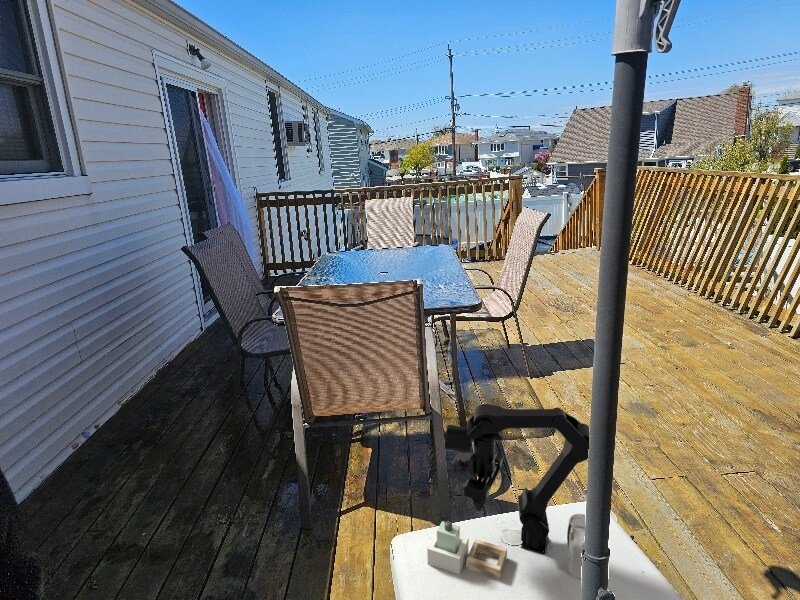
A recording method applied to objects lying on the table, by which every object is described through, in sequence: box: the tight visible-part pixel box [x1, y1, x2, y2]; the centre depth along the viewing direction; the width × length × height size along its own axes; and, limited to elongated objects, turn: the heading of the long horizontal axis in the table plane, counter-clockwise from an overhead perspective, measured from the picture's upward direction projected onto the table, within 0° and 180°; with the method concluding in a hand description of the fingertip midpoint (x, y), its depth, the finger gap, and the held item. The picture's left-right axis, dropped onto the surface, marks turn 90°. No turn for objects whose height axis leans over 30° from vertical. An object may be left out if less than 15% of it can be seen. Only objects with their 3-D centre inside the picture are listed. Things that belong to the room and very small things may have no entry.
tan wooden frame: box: [465, 538, 508, 580], centre depth 134 cm, size 9×8×3 cm
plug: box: [436, 520, 461, 554], centre depth 135 cm, size 5×4×10 cm
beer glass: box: [565, 513, 586, 580], centre depth 129 cm, size 7×7×15 cm
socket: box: [426, 528, 470, 575], centre depth 136 cm, size 9×8×5 cm
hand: (483, 500), depth 139 cm, fingers open, 9 cm apart
